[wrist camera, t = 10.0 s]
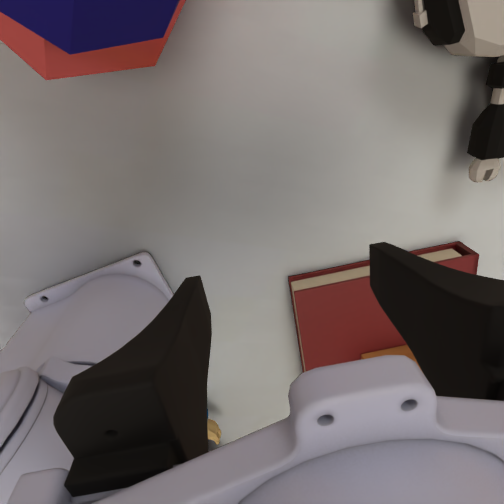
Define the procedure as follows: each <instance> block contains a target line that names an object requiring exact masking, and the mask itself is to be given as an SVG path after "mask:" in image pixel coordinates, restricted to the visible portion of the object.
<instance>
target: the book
mask: <svg viewBox="0 0 504 504" xmlns="http://www.w3.org/2000/svg"><path fill="white" fill-rule="evenodd" d="M410 253H412V254H415V255H417V256H420V257H422V258H425V259H427V260H430V261H432V262H435V263H438V264H441V265H443V266H446V267H449V268H453V269H456V270H459V271H463V272H467V273H470V274H474V275H476V274H477V267H478V259H479V254H478V253H476V252H475V251H473V250H472V249H470V248H469V247H467V246H466V245H464V244H463V243H461V242H460V241H458V242H453V243H448V244H443V245H439V246H434V247H429V248H424V249H419V250H415V251H410ZM288 280H289V286H290V292H291V299H292V305H293V312H294V318H295V324H296V331H297V337H298V344H299V350H300V357H301V363H302V369H303V373H304V372H306V371H309V370H312V369H314V368H317V367H323V366H328V365H334V364H339V363H345V362H350V361H356V360H361V354H365V353H369V352H374V351H379V350H384V349H388V348H393V347H398V346H403V345H407V344H406V342H405V341H404V339H403V338H402V336H401V335H400V334H399V332H398V331H397V329H396V328H395V326H394V325H393V324H392V322H391V321H390V319H389V318H388V316H387V315H386V314H385V312H384V311H383V309H382V308H381V306H380V305H379V303H378V301H377V299H376V297H375V295H374V293H373V291H372V289H371V287H370V260H367V261H362V262H357V263H352V264H347V265H343V266H338V267H333V268H328V269H323V270H319V271H314V272H309V273H304V274H299V275H295V276H290V277H288Z"/></svg>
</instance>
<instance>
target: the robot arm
mask: <svg viewBox="0 0 504 504" xmlns="http://www.w3.org/2000/svg"><path fill="white" fill-rule="evenodd" d="M135 260H139V261H140V262H141V264H136V263H135V262H134V261H135ZM370 287H371V289H372V291H373V293H374V295H375V297H376V299H377V301H378V303H379V305H380V306H381V308H382V309H383V311H384V312H385V314H386V315H387V316H388V318H389V319H390V321H391V322H392V324H393V325H394V326H395V328H396V329H397V331H398V332H399V334H400V335H401V336H402V338H403V339H404V341H405V342H406V344H407V345H408V347H409V348H410V350H411V352H412V353H413V355H414V357H415V359H416V361H417V363H418V364H419V366H420V368H421V369H420V368H419V366H418V365H417V363H416V362H415V361H413V360H411V359H410V358H408V357H406V356H405V355H384V356H378V357H373V358H367V359H362V360H356V361H350V362H345V363H339V364H334V365H328V366H323V367H317V368H314V369H312V370H309V371H306V372H304V373H302V374H300V375H299V376H298V377H297V378H296V379H295V380H294V381H293V382H292V383H291V385H290V390H289V395H288V398H289V404H290V415H289V416H288V417H287V418H285V419H283V420H280V421H278V422H276V423H273V424H271V425H269V426H267V427H264V428H262V429H260V430H258V431H255V432H253V433H251V434H248V435H246V436H244V437H242V438H239V439H237V440H235V441H233V442H230V443H228V444H226V445H223V446H221V447H219V448H217V449H214V450H212V451H210V452H208V427H207V377H208V367H209V357H210V347H211V335H212V331H211V313H210V309H209V306H208V302H207V299H206V295H205V291H204V288H203V284H202V280H201V277H200V276H195V277H189V278H186V279H185V280H184V281H183V283H182V284H181V285H180V287H179V288H178V290H177V291H176V292H175V294H173V292H172V291H171V289H170V287H169V286H168V284H167V282H166V280H165V279H164V277H163V275H162V273H161V272H160V270H159V268H158V266H157V265H156V263H155V261H154V260H153V258H152V256H151V255H150V254H149V253H147V252H141V253H138V254H136V255H133V256H131V257H128V258H126V259H123V260H120V261H118V262H115V263H113V264H110V265H107V266H105V267H102V268H100V269H97V270H94V271H92V272H89V273H87V274H84V275H82V276H79V277H76V278H74V279H71V280H69V281H66V282H63V283H61V284H58V285H56V286H53V287H50V288H48V289H45V290H43V291H40V292H37V293H35V294H32V295H30V296H28V297H27V298H26V299H25V300H24V305H25V307H26V308H27V309H28V310H29V311H30V314H29V316H28V317H27V318H26V320H25V321H24V322H23V323H22V325H21V326H20V327H19V329H18V330H17V331H16V333H15V334H14V335H13V336H12V338H11V339H10V340H9V342H8V343H7V344H6V345H5V347H4V348H3V349H2V351H1V352H0V504H504V280H499V279H494V278H488V277H483V276H479V275H474V274H470V273H467V272H463V271H459V270H456V269H453V268H449V267H446V266H443V265H441V264H438V263H435V262H432V261H430V260H427V259H425V258H422V257H420V256H417V255H415V254H412V253H410V252H408V251H405V250H403V249H401V248H399V247H396V246H394V245H391V244H389V243H386V242H381V243H376V244H370ZM43 296H46V297H47V298H48V299H45V298H44V297H43ZM421 370H422V371H421Z"/></svg>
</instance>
